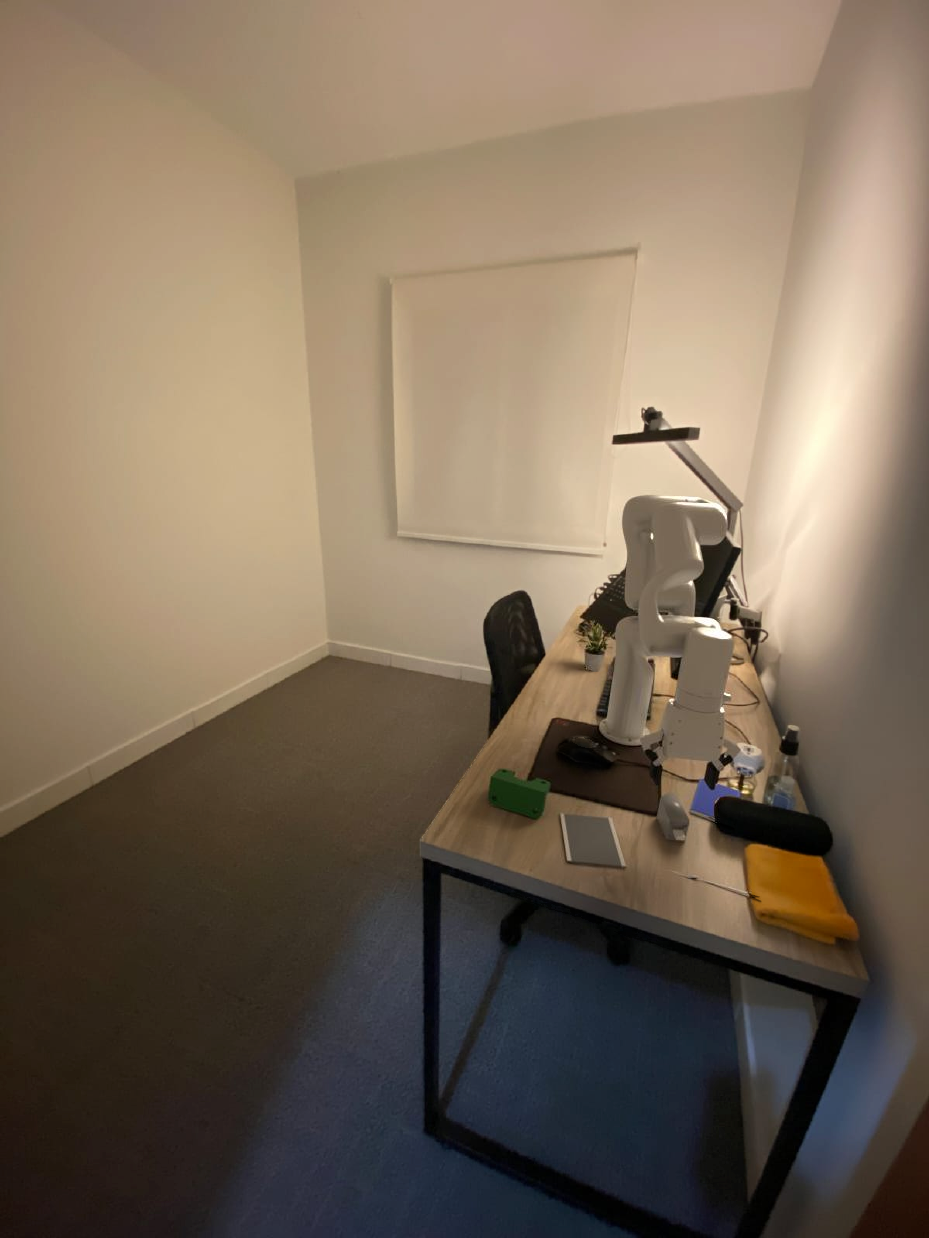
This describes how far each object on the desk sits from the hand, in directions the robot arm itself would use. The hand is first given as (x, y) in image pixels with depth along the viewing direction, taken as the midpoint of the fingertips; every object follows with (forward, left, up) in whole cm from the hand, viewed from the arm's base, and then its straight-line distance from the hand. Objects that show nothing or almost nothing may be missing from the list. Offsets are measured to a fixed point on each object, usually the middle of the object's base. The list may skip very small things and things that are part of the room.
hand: (681, 783), depth 90 cm
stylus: (+11, +1, -11) cm, 16 cm away
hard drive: (-10, +12, -12) cm, 19 cm away
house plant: (-79, -3, -11) cm, 80 cm away
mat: (+4, -16, -11) cm, 20 cm away
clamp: (-5, -29, -11) cm, 31 cm away
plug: (-1, 0, -11) cm, 11 cm away
